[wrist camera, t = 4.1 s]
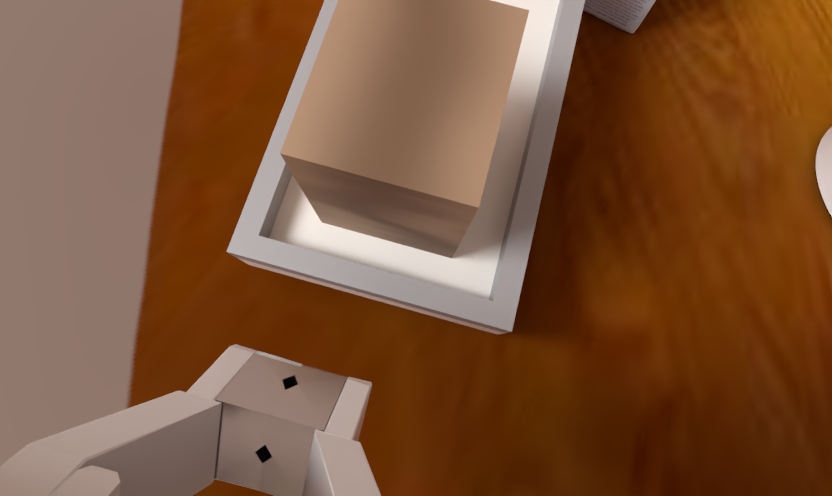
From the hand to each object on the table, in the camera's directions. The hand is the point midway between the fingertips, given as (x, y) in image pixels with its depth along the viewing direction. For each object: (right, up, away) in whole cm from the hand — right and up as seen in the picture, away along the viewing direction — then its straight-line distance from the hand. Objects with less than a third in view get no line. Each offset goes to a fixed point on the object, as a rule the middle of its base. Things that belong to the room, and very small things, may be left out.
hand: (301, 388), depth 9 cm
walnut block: (+2, +7, +11) cm, 13 cm away
